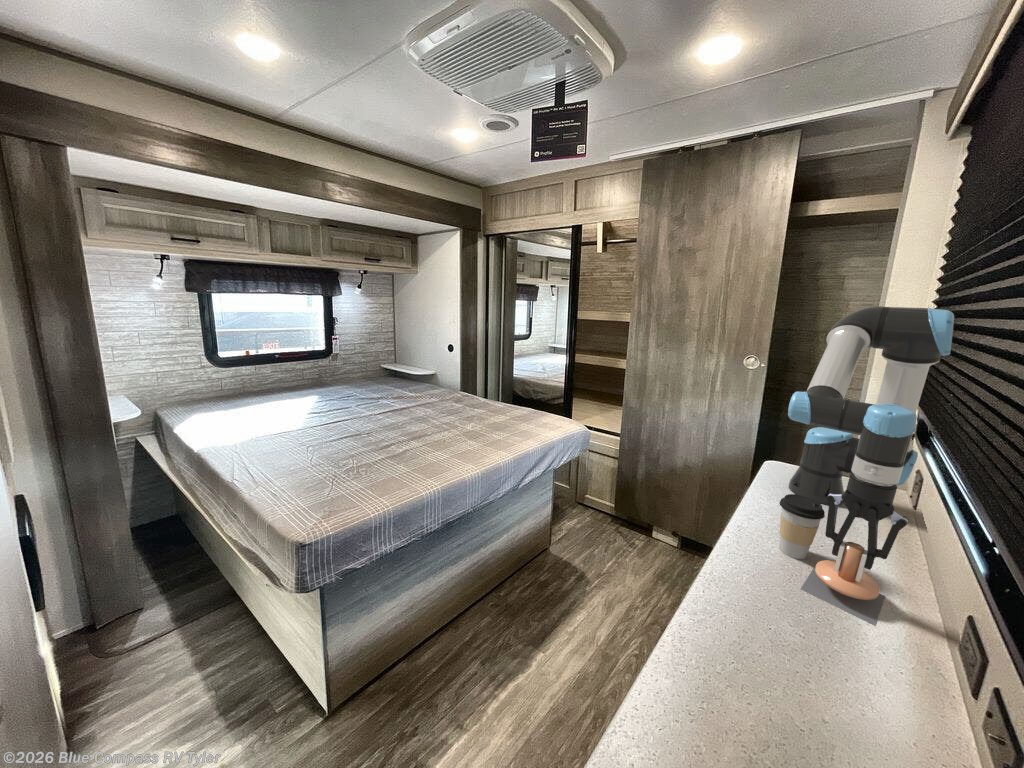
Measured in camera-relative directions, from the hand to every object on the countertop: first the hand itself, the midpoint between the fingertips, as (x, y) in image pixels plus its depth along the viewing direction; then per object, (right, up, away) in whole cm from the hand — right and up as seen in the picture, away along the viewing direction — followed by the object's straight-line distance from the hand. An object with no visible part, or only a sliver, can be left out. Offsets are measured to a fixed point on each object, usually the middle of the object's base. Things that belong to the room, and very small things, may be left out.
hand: (847, 573), depth 89 cm
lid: (0, -2, 0) cm, 2 cm away
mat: (0, -5, +1) cm, 5 cm away
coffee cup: (-2, -2, +15) cm, 15 cm away
